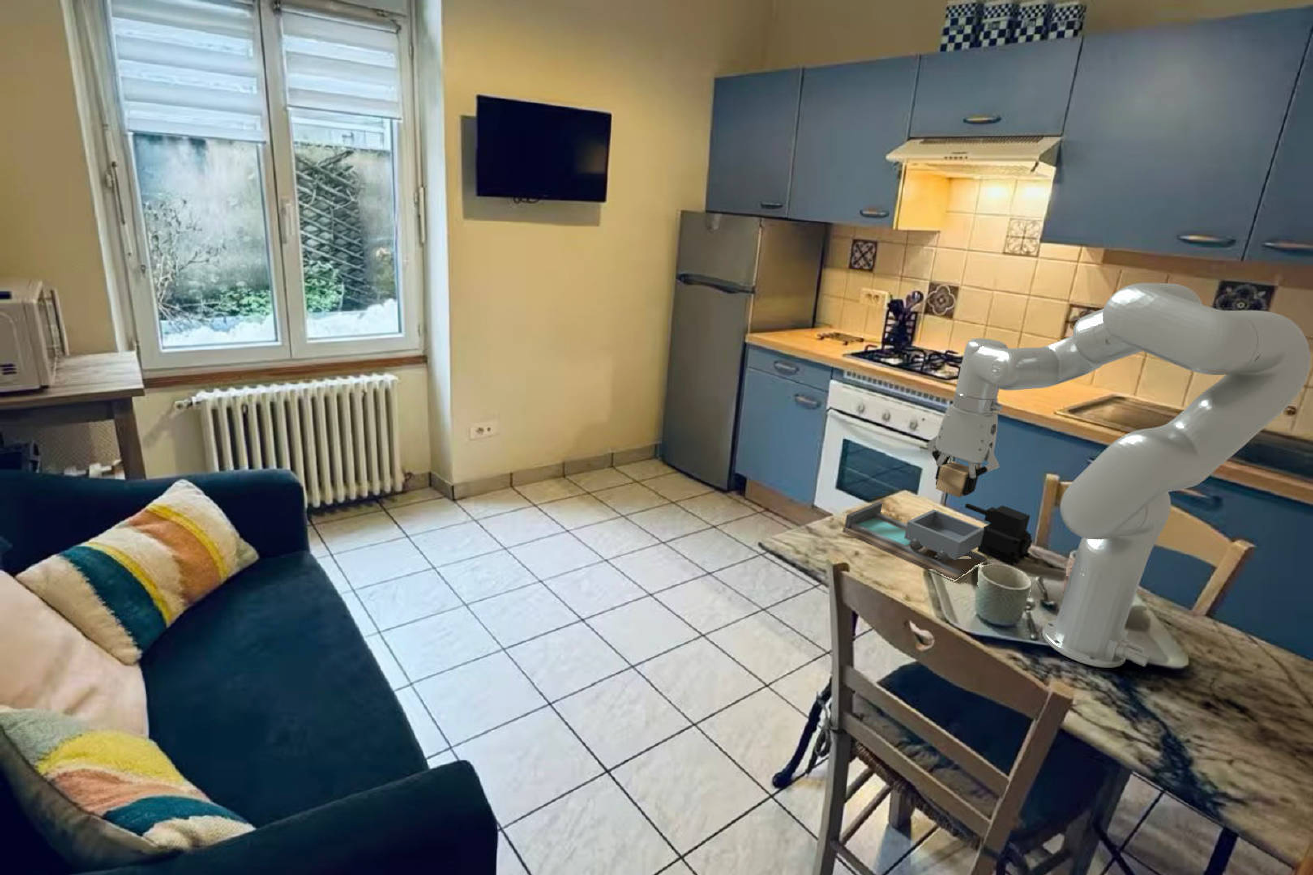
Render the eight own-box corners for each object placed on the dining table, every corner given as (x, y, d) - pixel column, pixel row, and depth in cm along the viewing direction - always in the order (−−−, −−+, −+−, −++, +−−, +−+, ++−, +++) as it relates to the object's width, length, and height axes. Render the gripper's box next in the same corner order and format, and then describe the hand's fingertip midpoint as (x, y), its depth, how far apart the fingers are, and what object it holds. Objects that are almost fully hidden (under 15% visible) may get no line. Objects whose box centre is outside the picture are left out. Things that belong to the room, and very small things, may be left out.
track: (986, 562, 150) (990, 545, 148) (954, 582, 141) (959, 564, 139) (876, 516, 167) (879, 501, 166) (842, 531, 158) (845, 515, 157)
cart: (978, 552, 149) (984, 528, 147) (953, 567, 142) (959, 542, 140) (928, 531, 157) (933, 509, 155) (902, 545, 149) (907, 521, 148)
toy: (966, 533, 163) (976, 493, 160) (1029, 559, 153) (1041, 516, 150) (950, 541, 158) (959, 500, 155) (1014, 568, 148) (1026, 525, 145)
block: (970, 492, 145) (976, 469, 143) (959, 497, 142) (964, 474, 140) (947, 483, 148) (952, 461, 147) (935, 488, 145) (940, 465, 143)
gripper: (1026, 412, 136) (1003, 500, 142) (942, 389, 147) (923, 471, 153) (1009, 418, 131) (986, 508, 137) (923, 394, 142) (905, 478, 148)
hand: (953, 488), depth 145 cm, fingers closed on block, 4 cm apart
